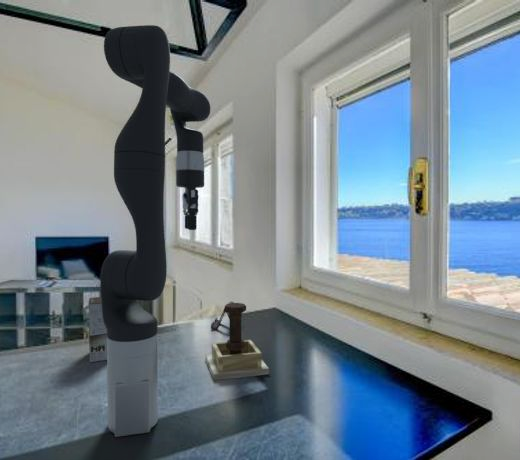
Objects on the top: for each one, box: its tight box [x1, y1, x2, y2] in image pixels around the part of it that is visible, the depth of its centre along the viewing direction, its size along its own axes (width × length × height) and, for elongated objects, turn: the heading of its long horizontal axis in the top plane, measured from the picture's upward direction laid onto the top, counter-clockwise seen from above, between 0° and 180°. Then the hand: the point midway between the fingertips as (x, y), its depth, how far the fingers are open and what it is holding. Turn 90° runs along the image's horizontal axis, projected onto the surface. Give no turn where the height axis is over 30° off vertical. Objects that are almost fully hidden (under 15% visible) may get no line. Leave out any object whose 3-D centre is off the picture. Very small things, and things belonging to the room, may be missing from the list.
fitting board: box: [205, 339, 270, 381], centre depth 103 cm, size 14×14×5 cm
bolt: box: [223, 302, 247, 355], centre depth 103 cm, size 6×5×15 cm
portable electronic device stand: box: [210, 301, 234, 331], centre depth 140 cm, size 9×8×8 cm
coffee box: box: [88, 296, 107, 363], centre depth 111 cm, size 9×6×16 cm
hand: (190, 229), depth 107 cm, fingers open, 8 cm apart
